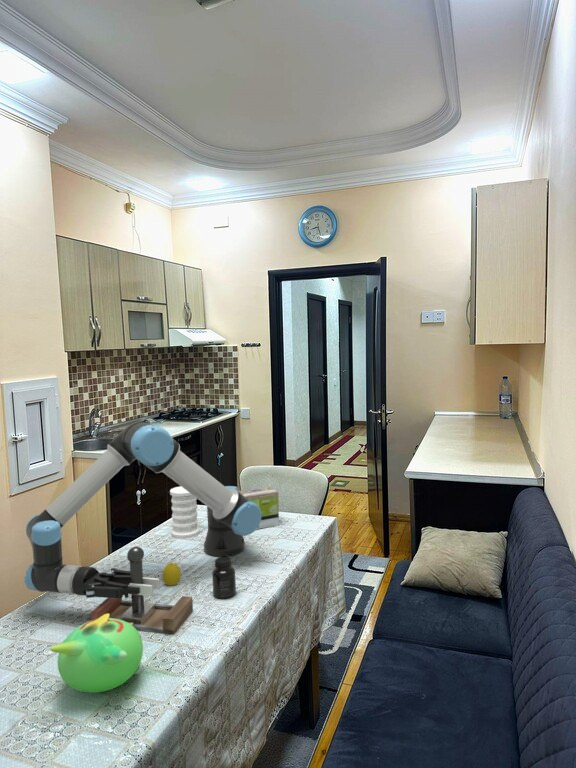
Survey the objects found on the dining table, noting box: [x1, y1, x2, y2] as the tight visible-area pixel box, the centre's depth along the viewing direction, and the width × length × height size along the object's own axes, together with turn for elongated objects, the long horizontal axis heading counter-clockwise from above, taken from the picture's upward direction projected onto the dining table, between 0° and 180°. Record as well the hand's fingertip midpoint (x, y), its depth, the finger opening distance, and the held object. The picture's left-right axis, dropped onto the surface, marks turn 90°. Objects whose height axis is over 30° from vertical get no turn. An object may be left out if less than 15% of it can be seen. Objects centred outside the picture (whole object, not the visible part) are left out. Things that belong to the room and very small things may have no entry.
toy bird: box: [50, 613, 144, 694], centre depth 115 cm, size 18×17×15 cm
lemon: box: [162, 562, 182, 587], centre depth 161 cm, size 6×6×8 cm
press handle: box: [120, 546, 156, 625], centre depth 140 cm, size 6×8×20 cm
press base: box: [90, 595, 194, 636], centre depth 141 cm, size 24×12×6 cm, turn 77°
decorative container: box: [169, 485, 201, 539], centre depth 209 cm, size 12×12×18 cm
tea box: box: [238, 486, 280, 530], centre depth 216 cm, size 15×10×15 cm, turn 117°
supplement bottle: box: [211, 556, 237, 601], centre depth 153 cm, size 7×7×12 cm
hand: (155, 587), depth 139 cm, fingers closed on press handle, 3 cm apart
